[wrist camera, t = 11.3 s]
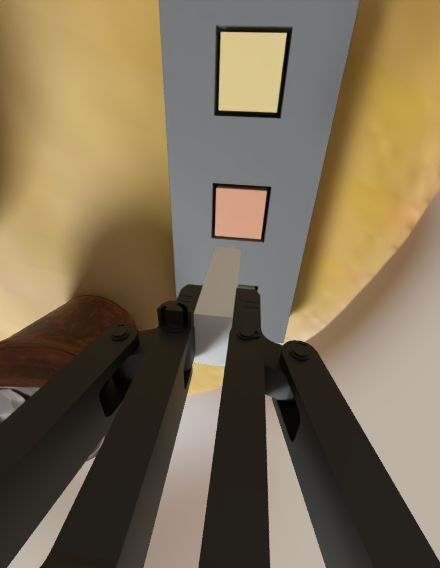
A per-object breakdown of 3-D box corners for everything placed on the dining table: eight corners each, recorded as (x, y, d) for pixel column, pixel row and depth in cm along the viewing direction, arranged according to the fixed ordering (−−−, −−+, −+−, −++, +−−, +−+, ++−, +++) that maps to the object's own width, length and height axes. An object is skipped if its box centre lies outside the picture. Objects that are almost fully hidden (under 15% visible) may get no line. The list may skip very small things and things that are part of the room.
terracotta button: (220, 181, 28) (216, 187, 25) (265, 184, 28) (266, 191, 25) (218, 224, 31) (214, 235, 28) (260, 228, 30) (260, 239, 27)
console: (174, -3, 22) (156, -29, 18) (346, -2, 21) (366, -30, 17) (186, 311, 39) (178, 331, 35) (280, 321, 38) (283, 343, 34)
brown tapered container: (129, 383, 50) (73, 497, 35) (30, 325, 45) (-87, 428, 30) (182, 333, 42) (140, 453, 26) (68, 255, 37) (-67, 348, 21)
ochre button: (225, 44, 22) (220, 31, 19) (282, 45, 22) (286, 33, 19) (222, 111, 25) (218, 110, 22) (274, 114, 24) (276, 112, 21)
